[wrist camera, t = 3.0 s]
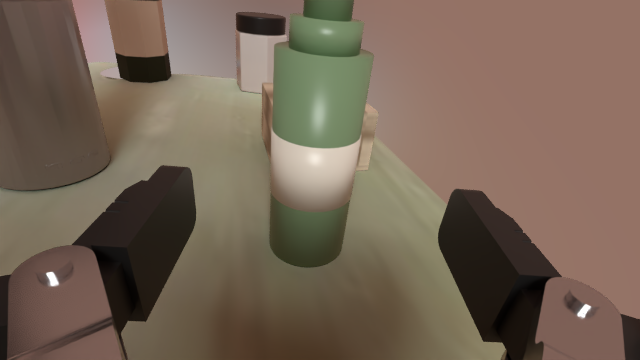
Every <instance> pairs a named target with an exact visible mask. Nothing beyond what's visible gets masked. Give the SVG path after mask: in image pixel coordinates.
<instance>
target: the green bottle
mask: <svg viewBox="0 0 640 360" xmlns="http://www.w3.org/2000/svg"><path fill="white" fill-rule="evenodd" d="M353 4H354V0H304V11H303V14H290V29H289V41H286V42H279V43H276V44H275V45H274V72H273V115H272V127H271V170H270V191H271V203H270V246H271V249H272V251H273V252H274V254H275V255H276V256H277V257H278V258H280V259H281V260H283V261H284V262H286V263H289V264H291V265H294V266H299V267H318V266H322V265H325V264H328V263H330V262H331V261H333V260H334V259H335V258H336V257H337V256H338V255H339V254H340V252H341V249H342V244H343V238H344V232H345V226H346V220H347V214H348V208H349V202H350V198H351V194H352V189H353V183H354V177H355V171H356V165H357V159H358V153H359V147H360V141H361V130H362V124H363V118H364V112H365V106H366V100H367V94H368V88H369V82H370V76H371V70H372V64H373V58H374V55H373V54H372V53H371V52H369V51H366V50H363V49H360V48H361V41H362V34H363V28H364V22H363V21H359V20H355V19H352V11H353Z"/></svg>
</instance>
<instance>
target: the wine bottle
mask: <svg viewBox="0 0 640 360" xmlns="http://www.w3.org/2000/svg"><path fill="white" fill-rule="evenodd" d="M105 5H106V10H107V15H108V20H109V25H110V29H111V34H112V39H113V43H114V49H115V53H116V59H117V63H118V68H119V73H120V77H121V78H123V79H125V80H128V81H130V82H148V83H151V82H158V81H164V80H168V79H169V78H170V76H171V71H170V62H169V54H168V46H167V38H166V31H165V23H164V16H163V8H162V0H105Z"/></svg>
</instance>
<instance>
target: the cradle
mask: <svg viewBox="0 0 640 360" xmlns="http://www.w3.org/2000/svg"><path fill="white" fill-rule="evenodd" d="M272 115H273V83H262V137H263V140H264V143H265V147H266V150H267V153H268V157H269V160H270V163H271V127H272ZM377 118H378V112H377V111H376V110H375V109H374V108H372V107H371V106H370V105H369V104H367V103H366V106H365V112H364V118H363V124H362V130H361V141H360V147H359V153H358V159H357V165H356V171H360V170H368V166H369V161H370V156H371V150H372V145H373V140H374V135H375V129H376V124H377Z"/></svg>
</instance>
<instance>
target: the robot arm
mask: <svg viewBox="0 0 640 360" xmlns="http://www.w3.org/2000/svg"><path fill="white" fill-rule="evenodd" d="M110 157H111V156H110V152H109V148H108V144H107V140H106V136H105V132H104V128H103V124H102V120H101V116H100V112H99V108H98V104H97V100H96V96H95V92H94V88H93V84H92V79H91V75H90V71H89V67H88V63H87V59H86V56H85V51H84V48H83V43H82V39H81V35H80V31H79V27H78V23H77V19H76V16H75V11H74V8H73V3H72V0H0V187H2V188H5V189H12V190H39V189H47V188H54V187H59V186H63V185H67V184H71V183H74V182H77V181H80V180H83V179H86V178H88V177H90V176H92V175H94V174H96V173H98V172H99V171H101V170H102V169H103V168H105V167H106V166H107V164H108V163H109V161H110ZM195 221H196V206H195V197H194V189H193V180H192V173H191V170H190V168H188V167H177V166H164V165H163V166H160V167H159V168H158V170H157V171H156V172H155V173H154V174H153V175H152V176H151V177H150V179H149V180H148V181H143V180H141V181H140V182H138V183H136V184H134V185H132V186H130V187H128V188H127V189H125V190H124V191H123V192H122V193H121V194H120V195H119V196H118V197H117V198H116V199H115V202H114V203H112V204H111V205H110V206H109V207H108V208H107V209H106V212H103V213H102V214H101V215H100V216H99V217H98V218H97V219H96V220H95V221H94V222H93V223H92V224H91V225H90V226H89V228H88V229H87V230H86V231H85V232H84V233H83V234H82V235H81V236H80V237H79V238H78V239H77V240H76V241H75V242H74V243H73V244H72V245H69V246H61V247H56V248H52V249H49V250H46V251H43V252H41V253H39V254H37V255H35V256H33V257H31V258H29V259H28V260H26V261H25V262H23V263H22V264H21V265H19V266H18V267H17V268H16V269H15V271H14V272H13V273H12V274H11V275H5V276H0V360H128V356H127V353H126V349H125V346H124V342H123V339H122V336H121V332H122V330H123V328H124V327H125V325H126V323H127V321H144V322H146V320H147V318H148V316H149V314H150V313H151V311H152V309H153V307H154V305H155V303H156V301H157V299H158V297H159V295H160V293H161V291H162V289H163V287H164V285H165V284H166V282H167V280H168V278H169V276H170V274H171V272H172V270H173V268H174V266H175V264H176V262H177V260H178V258H179V256H180V255H181V253H182V251H183V249H184V247H185V245H186V243H187V241H188V239H189V237H190V235H191V233H192V231H193V229H194V226H195ZM438 243H439V247H440V250H441V252H442V254H443V256H444V258H445V260H446V263H447V265H448V267H449V269H450V271H451V273H452V275H453V278H454V280H455V282H456V284H457V286H458V288H459V290H460V293H461V295H462V297H463V299H464V301H465V303H466V305H467V308H468V310H469V312H470V314H471V316H472V318H473V320H474V323H475V325H476V327H477V329H478V331H479V333H480V335H481V338H482V340H483V341H484V342H502V343H503V344H504V346H505V348H506V350H505V352H504V353H503V355H502V357H501V360H640V319H636V318H633V317H629V316H626V315H623V314H620V313H619V311H618V309H617V308H616V307H615V305H614V304H613V303H612V302H611V301H610V300H609V299H608V298H607V297H605V296H604V295H603V294H601V293H600V292H598V291H597V290H595V289H594V288H592V287H590V286H588V285H586V284H584V283H582V282H579V281H577V280H573V279H570V278H565V277H562V276H561V275H560V274H559V273H558V272H557V270H556V269H555V268H554V267H553V266H552V264H551V263H550V262H549V261H548V260H547V259H546V257H545V256H544V255H543V254H542V253H541V251H540V250H539V249H538V248H537V247H536V246H535V244H533V243H531V240H530V239H529V237H528V236H527V235H526V234H525V233H523V230H522V229H521V228H520V227H519V225H518V224H517V223H516V222H515V221H514V219H513V218H511V217H510V216H508V215H507V214H505V213H504V212H503V211H501V210H500V209H498V208H496V207H495V206H494V205H493V204H492V202H491V201H490V200H489V199H488V198H487V196H486V195H485V194H484V193H483V192H482V191H477V190H464V189H455V190H454V191H453V192H452V194H451V196H450V199H449V202H448V205H447V208H446V211H445V213H444V216H443V219H442V222H441V225H440V228H439V233H438Z"/></svg>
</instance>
